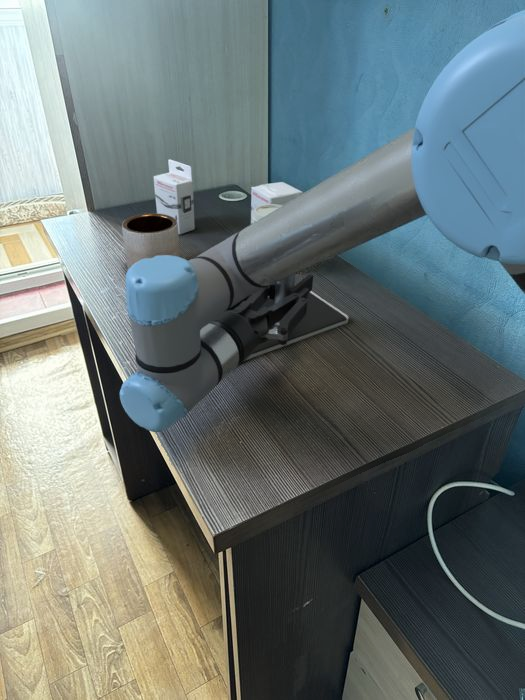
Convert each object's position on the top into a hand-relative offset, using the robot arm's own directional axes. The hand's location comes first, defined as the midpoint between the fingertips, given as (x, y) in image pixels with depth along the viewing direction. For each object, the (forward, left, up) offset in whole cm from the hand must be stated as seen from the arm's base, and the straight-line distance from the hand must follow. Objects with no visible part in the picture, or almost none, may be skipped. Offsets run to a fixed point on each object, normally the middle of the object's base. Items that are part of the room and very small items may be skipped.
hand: (300, 279), depth 86 cm
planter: (+34, +2, -8) cm, 35 cm away
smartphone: (+3, +5, -9) cm, 11 cm away
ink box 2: (+24, -26, -8) cm, 37 cm away
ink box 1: (+46, -16, -8) cm, 50 cm away
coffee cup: (+16, -14, -8) cm, 23 cm away
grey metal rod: (-1, +5, -7) cm, 9 cm away
